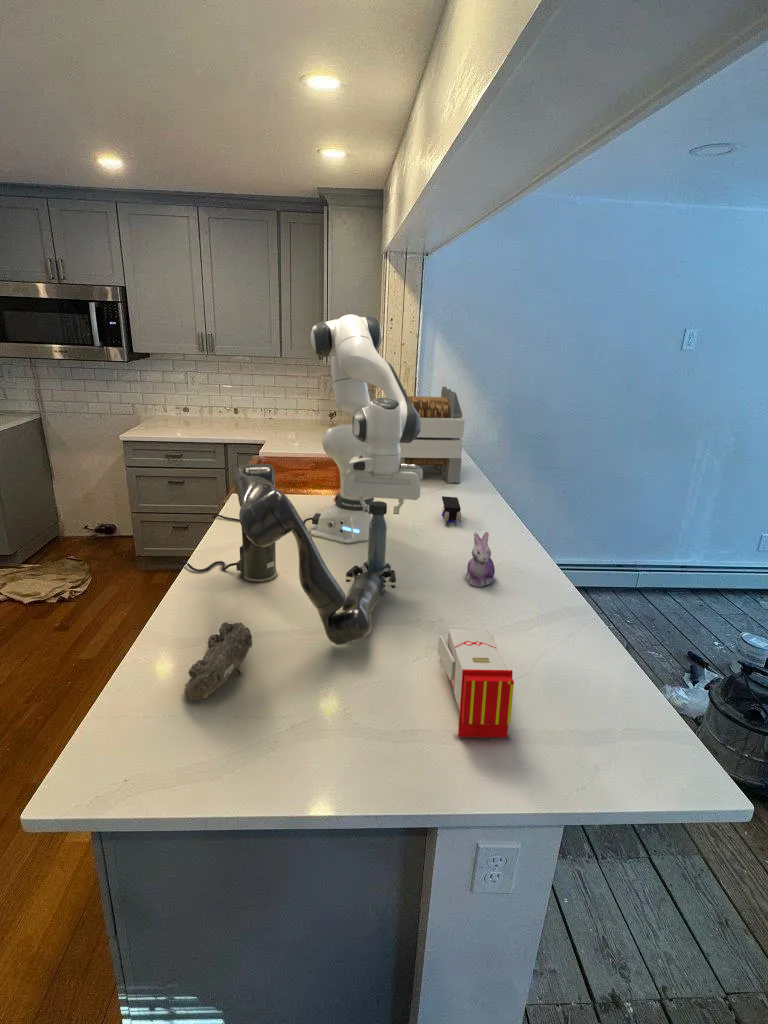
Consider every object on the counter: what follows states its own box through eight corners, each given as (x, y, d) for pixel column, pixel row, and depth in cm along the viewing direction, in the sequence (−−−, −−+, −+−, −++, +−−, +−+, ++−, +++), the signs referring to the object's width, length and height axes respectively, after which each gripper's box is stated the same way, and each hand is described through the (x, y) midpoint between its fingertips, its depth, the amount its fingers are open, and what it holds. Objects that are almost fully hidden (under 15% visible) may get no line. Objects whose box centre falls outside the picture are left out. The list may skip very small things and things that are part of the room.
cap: (366, 512, 151) (367, 503, 150) (378, 508, 154) (378, 500, 153) (378, 516, 148) (378, 507, 147) (390, 513, 151) (390, 504, 150)
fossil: (205, 625, 130) (252, 594, 125) (233, 653, 133) (280, 624, 128) (163, 694, 111) (216, 661, 106) (197, 725, 114) (251, 694, 109)
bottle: (373, 584, 162) (377, 502, 154) (387, 590, 160) (391, 506, 151) (362, 590, 159) (365, 507, 150) (376, 596, 156) (380, 511, 147)
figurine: (477, 590, 161) (482, 542, 156) (457, 575, 170) (461, 529, 165) (503, 584, 166) (509, 537, 161) (482, 570, 174) (487, 525, 169)
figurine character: (461, 530, 209) (456, 512, 222) (463, 512, 205) (458, 495, 219) (443, 530, 208) (439, 512, 222) (445, 511, 205) (440, 494, 218)
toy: (488, 613, 130) (523, 677, 101) (484, 667, 133) (517, 744, 104) (435, 612, 130) (455, 676, 101) (432, 666, 133) (451, 743, 103)
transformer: (382, 463, 289) (386, 382, 275) (445, 464, 293) (451, 384, 279) (390, 482, 257) (394, 392, 243) (460, 483, 261) (468, 394, 247)
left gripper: (393, 582, 141) (403, 555, 157) (337, 575, 144) (353, 549, 159) (391, 609, 144) (402, 580, 159) (336, 602, 146) (352, 573, 162)
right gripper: (423, 461, 149) (420, 511, 154) (346, 457, 150) (345, 506, 155) (423, 468, 143) (419, 519, 148) (342, 463, 144) (342, 514, 149)
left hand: (377, 565), depth 159 cm, fingers closed on bottle, 5 cm apart
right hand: (381, 512), depth 151 cm, fingers open, 7 cm apart
